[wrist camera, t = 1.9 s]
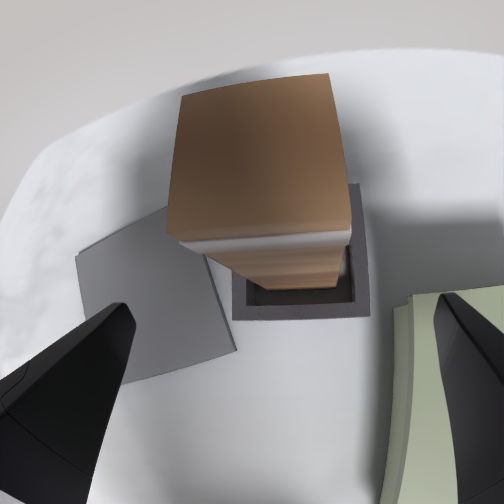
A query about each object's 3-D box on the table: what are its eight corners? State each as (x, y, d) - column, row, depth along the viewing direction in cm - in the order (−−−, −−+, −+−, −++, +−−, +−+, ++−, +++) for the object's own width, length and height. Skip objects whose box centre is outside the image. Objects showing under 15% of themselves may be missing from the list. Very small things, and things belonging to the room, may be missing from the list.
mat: (237, 350, 19) (234, 351, 18) (108, 387, 20) (104, 388, 20) (187, 200, 22) (184, 197, 21) (78, 258, 23) (74, 256, 23)
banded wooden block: (336, 289, 18) (354, 220, 6) (269, 292, 19) (163, 234, 7) (332, 224, 19) (330, 71, 7) (268, 228, 20) (180, 95, 8)
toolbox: (496, 498, 11) (526, 529, 6) (369, 528, 13) (376, 575, 8) (522, 286, 15) (569, 272, 10) (388, 301, 17) (412, 292, 12)
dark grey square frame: (365, 316, 17) (370, 316, 15) (241, 320, 19) (232, 320, 17) (356, 196, 19) (359, 183, 17) (242, 205, 21) (233, 193, 19)
